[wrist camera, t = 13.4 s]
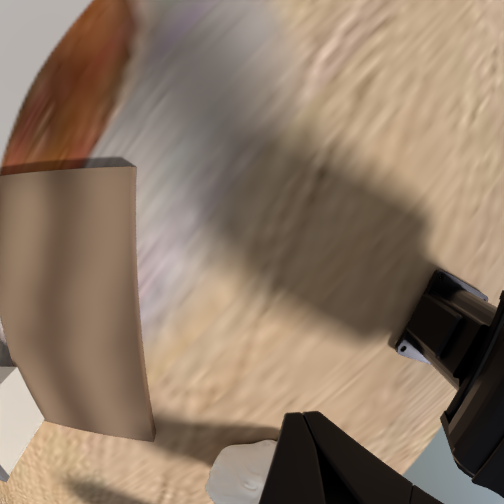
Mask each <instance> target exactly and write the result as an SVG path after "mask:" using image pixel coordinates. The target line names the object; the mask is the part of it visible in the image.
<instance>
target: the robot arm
mask: <svg viewBox="0 0 504 504" xmlns="http://www.w3.org/2000/svg"><path fill="white" fill-rule="evenodd" d="M440 275H441V278H440V279H438V278H439V276H440ZM499 299H500V302H499V305H498V307H495V306H494V305H492V304H490V303H488V297H487V296H486V295H484V294H482V293H481V292H479V291H477V290H476V289H474V288H472V287H471V286H469V285H467V284H466V283H464V282H462V281H460V280H459V279H457V278H455V277H454V276H452V275H450V274H448V273H447V272H445V271H443V270H440V269H438V270H436V271H435V272H434V274H433V276H432V278H431V280H430V282H429V284H428V286H427V288H426V290H425V292H424V294H423V296H422V298H421V300H420V302H419V304H418V306H417V308H416V310H415V312H414V314H413V315H412V317H411V319H410V321H409V323H408V325H407V326H406V328H405V330H404V332H403V334H402V335H401V337H400V339H399V341H398V342H397V344H396V346H395V350H396V352H397V353H398V354H399V355H402V356H405V357H408V358H412V359H415V360H418V361H421V362H424V363H428V364H431V365H433V366H434V367H435V368H436V369H437V370H438V371H439V372H440V373H441V374H442V375H443V376H444V377H445V378H446V379H447V380H448V382H449V383H450V384H451V385H452V386H453V387H454V388H455V389H456V390H457V393H456V395H455V397H454V398H453V400H452V402H451V403H450V405H449V407H448V408H447V410H446V411H444V412H443V414H442V416H441V417H440V420H441V423H442V426H443V428H444V431H445V434H446V437H447V440H448V443H449V446H450V449H451V452H452V455H453V458H454V460H455V463H456V464H457V466H458V468H459V469H460V470H462V471H463V472H464V473H465V474H466V475H468V476H469V477H471V478H472V482H473V483H474V484H477V485H480V486H483V487H486V488H488V489H490V490H492V491H494V492H496V493H498V494H499V495H500V496H502V497H503V498H504V290H502V293H501V296H500V298H499ZM402 346H404V347H403V348H402V349H401V347H402ZM258 504H443V503H442V502H440V501H438V500H437V499H435V498H434V497H432V496H431V495H429V494H427V493H425V492H424V491H423V490H421V489H420V488H419V487H417V486H416V485H413V486H412V483H411V482H410V481H408V480H407V479H406V478H404V477H403V476H401V475H400V474H399V473H397V472H396V471H395V470H393V469H392V468H390V467H389V466H388V465H386V464H385V463H384V462H382V461H381V460H380V459H378V458H377V457H376V456H374V455H373V454H372V453H371V452H369V451H368V450H367V449H365V448H364V447H363V446H361V445H360V444H359V443H358V442H356V441H355V440H354V439H353V438H351V437H350V436H349V435H347V434H346V433H345V432H344V431H342V430H341V429H340V428H339V427H337V426H336V425H335V424H334V423H333V422H331V421H330V420H329V419H328V418H326V417H325V416H324V415H323V414H322V413H320V412H319V411H309V412H303V413H300V412H293V413H286V414H285V415H284V419H283V422H282V426H281V430H280V433H279V437H278V441H277V444H276V448H275V451H274V455H273V458H272V461H271V465H270V468H269V471H268V475H267V478H266V481H265V485H264V488H263V491H262V494H261V497H260V500H259V503H258Z"/></svg>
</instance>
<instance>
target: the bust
mask: <svg viewBox="0 0 504 504" xmlns="http://www.w3.org/2000/svg"><path fill="white" fill-rule="evenodd" d="M276 444H277V442H276V441H273V440H263V441H260V442H257V443H254V444H241V445H230V446H227V447H225V448H224V449H223V450H222V451H221V452H220V453H219V455H218V456H217V458H216V460H215V462H214V464H213V466H212V468H211V470H210V473H209V479H208V481H207V484H206V485H205V490H206V492H207V493H208V495H209V497H210V498H211V499H212V501H213V502H214V503H215V504H258V503H259V500H260V497H261V494H262V491H263V488H264V485H265V481H266V478H267V475H268V471H269V468H270V465H271V461H272V458H273V455H274V451H275V448H276Z"/></svg>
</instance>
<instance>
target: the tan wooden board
mask: <svg viewBox="0 0 504 504" xmlns="http://www.w3.org/2000/svg"><path fill="white" fill-rule="evenodd" d="M0 316H1V321H2V325H3V329H4V333H5V337H6V341H7V345H8V349H9V352H10V356H11V359H12V363H13V366H14V367H18V369H19V372H20V374H21V376H22V378H23V380H24V382H25V384H26V386H27V388H28V390H29V392H30V394H31V396H32V397H33V399H34V401H35V403H36V405H37V407H38V408H39V410H40V412H41V414H42V415H43V417H44V421H47V422H51V423H55V424H59V425H63V426H67V427H71V428H75V429H80V430H84V431H89V432H94V433H99V434H104V435H110V436H115V437H122V438H128V439H135V440H142V441H150V442H154V438H155V434H156V432H155V427H154V421H153V415H152V409H151V403H150V397H149V390H148V383H147V376H146V368H145V360H144V352H143V342H142V333H141V322H140V310H139V296H138V280H137V258H136V167H132V166H127V167H100V168H81V169H66V170H52V171H41V172H30V173H20V174H11V175H2V176H0Z"/></svg>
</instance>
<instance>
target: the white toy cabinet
mask: <svg viewBox="0 0 504 504" xmlns="http://www.w3.org/2000/svg"><path fill="white" fill-rule="evenodd" d="M43 421H44V417H43V415H42V414H41V412H40V410H39V408H38V407H37V405H36V403H35V401H34V399H33V397H32V396H31V394H30V392H29V390H28V388H27V386H26V384H25V382H24V380H23V378H22V376H21V374H20V372H19V369H18V367H0V480H2V481H5V482H7V480H8V479H9V477H10V476H9V475H10V473H11V471H12V470H13V468H14V466H15V465H16V463H17V462H18V460H19V458H20V457H21V455H22V453H23V452H24V450H25V449H26V447H27V445H28V444H29V442H30V441H31V439H32V438H33V436H34V435H35V433H36V431H37V430H38V428H39V427H40V425H41V424H42V422H43Z"/></svg>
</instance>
